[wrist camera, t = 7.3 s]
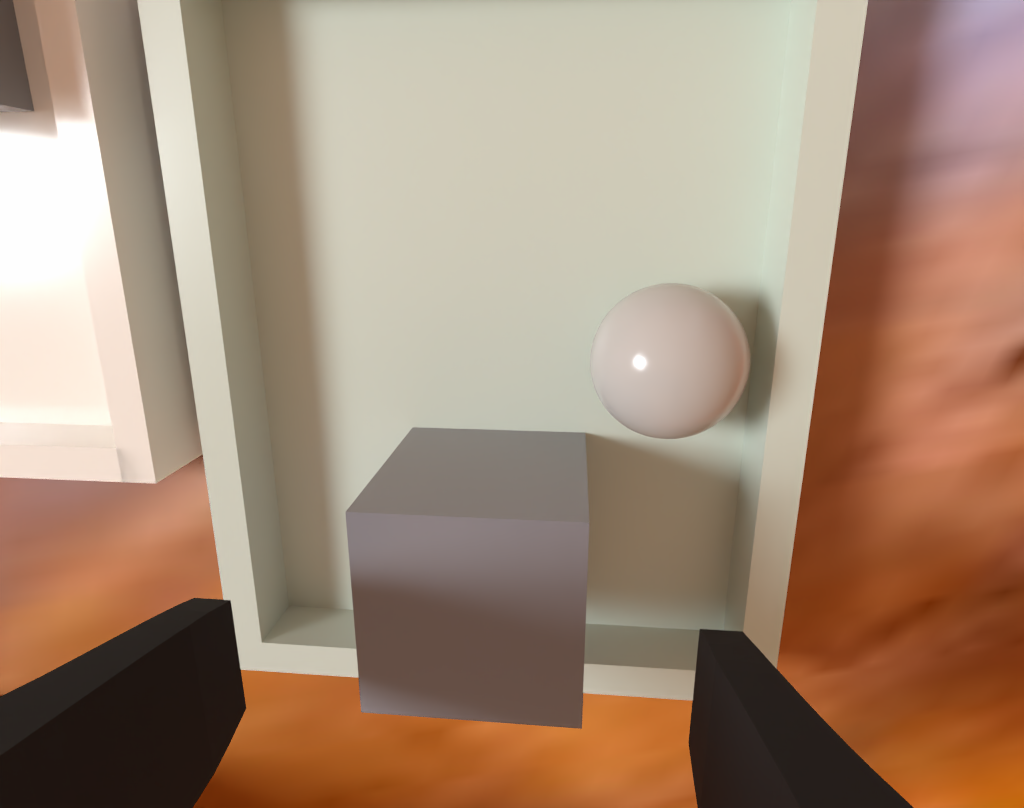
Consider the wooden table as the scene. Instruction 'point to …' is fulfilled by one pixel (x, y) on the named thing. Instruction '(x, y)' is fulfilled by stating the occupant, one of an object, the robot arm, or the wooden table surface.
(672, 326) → the pale pink ball
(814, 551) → the wooden table surface
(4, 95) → the grey cube
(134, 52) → the dish
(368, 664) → the grey cube
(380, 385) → the bin
